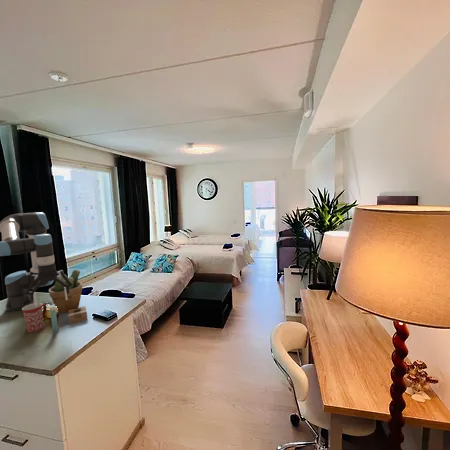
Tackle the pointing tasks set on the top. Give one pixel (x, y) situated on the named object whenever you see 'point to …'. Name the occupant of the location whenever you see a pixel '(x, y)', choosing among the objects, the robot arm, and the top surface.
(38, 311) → the mug
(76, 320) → the wooden holder
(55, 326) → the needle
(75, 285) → the potted plant
